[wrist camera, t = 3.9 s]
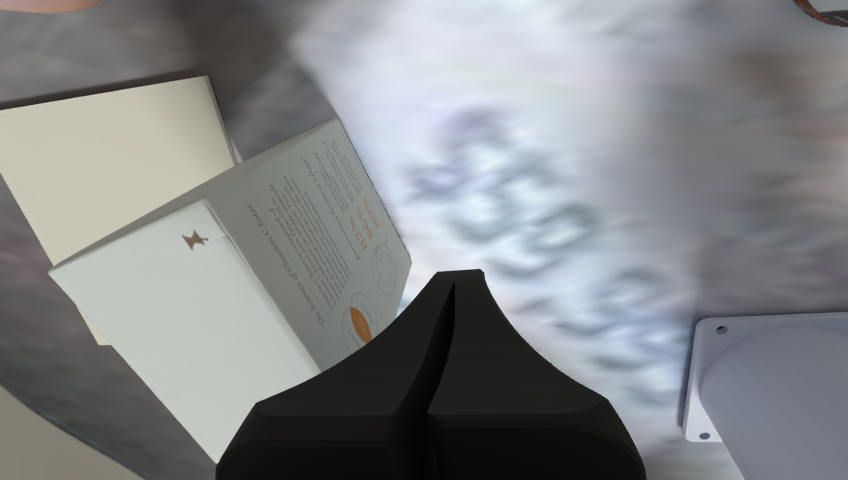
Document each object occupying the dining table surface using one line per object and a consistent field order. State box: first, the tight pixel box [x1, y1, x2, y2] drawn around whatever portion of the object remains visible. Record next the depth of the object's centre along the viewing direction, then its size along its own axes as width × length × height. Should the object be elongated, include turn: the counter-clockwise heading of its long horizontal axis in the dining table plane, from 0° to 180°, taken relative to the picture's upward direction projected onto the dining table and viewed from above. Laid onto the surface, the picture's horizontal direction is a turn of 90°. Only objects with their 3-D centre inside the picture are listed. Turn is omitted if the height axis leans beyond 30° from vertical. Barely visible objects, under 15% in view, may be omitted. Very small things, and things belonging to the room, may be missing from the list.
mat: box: [0, 76, 237, 345], centre depth 23 cm, size 13×14×1 cm
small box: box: [48, 118, 412, 464], centre depth 16 cm, size 8×6×10 cm
